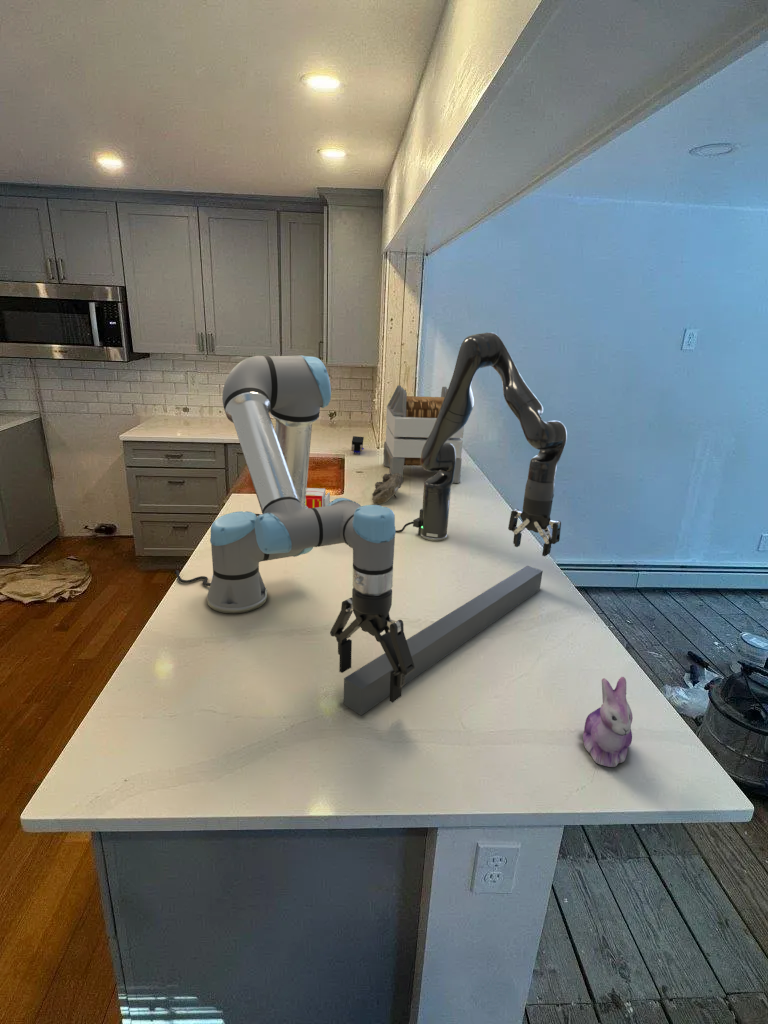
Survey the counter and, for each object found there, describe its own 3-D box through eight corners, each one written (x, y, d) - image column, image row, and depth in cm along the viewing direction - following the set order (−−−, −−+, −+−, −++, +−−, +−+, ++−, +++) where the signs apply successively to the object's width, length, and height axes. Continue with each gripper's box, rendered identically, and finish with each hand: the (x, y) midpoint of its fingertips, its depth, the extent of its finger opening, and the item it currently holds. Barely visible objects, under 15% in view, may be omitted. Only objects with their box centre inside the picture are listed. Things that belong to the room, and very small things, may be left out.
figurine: (610, 778, 98) (627, 706, 93) (567, 739, 106) (580, 672, 101) (647, 760, 102) (665, 691, 97) (603, 725, 110) (617, 659, 105)
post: (524, 584, 167) (527, 565, 165) (539, 590, 164) (542, 570, 162) (343, 704, 113) (344, 678, 111) (361, 715, 110) (362, 689, 108)
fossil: (371, 479, 247) (398, 460, 242) (384, 495, 250) (412, 477, 245) (364, 500, 227) (394, 480, 222) (379, 517, 230) (409, 498, 225)
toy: (331, 483, 220) (325, 497, 191) (330, 517, 223) (325, 535, 194) (299, 482, 220) (289, 496, 190) (299, 516, 223) (289, 534, 193)
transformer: (382, 463, 289) (386, 382, 275) (445, 464, 293) (451, 384, 279) (390, 482, 257) (394, 392, 243) (460, 483, 261) (468, 394, 247)
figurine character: (363, 457, 303) (363, 448, 316) (363, 444, 300) (364, 435, 313) (350, 457, 303) (351, 447, 316) (351, 444, 299) (352, 434, 313)
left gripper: (312, 573, 111) (313, 665, 118) (411, 618, 96) (405, 721, 103) (340, 562, 117) (339, 651, 124) (437, 603, 101) (430, 702, 108)
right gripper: (508, 492, 154) (501, 546, 159) (557, 505, 145) (548, 562, 151) (521, 486, 159) (514, 539, 165) (569, 498, 150) (560, 554, 156)
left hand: (369, 683), depth 113 cm, fingers open, 13 cm apart
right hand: (530, 550), depth 158 cm, fingers open, 8 cm apart
